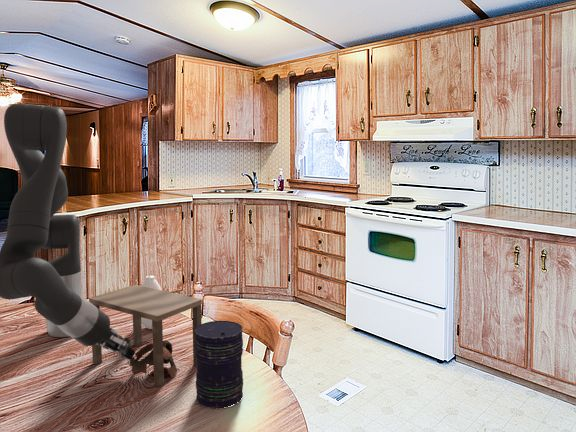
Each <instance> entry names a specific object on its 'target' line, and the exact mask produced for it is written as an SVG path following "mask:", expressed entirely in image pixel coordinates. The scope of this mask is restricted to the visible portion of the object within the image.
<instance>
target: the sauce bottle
mask: <svg viewBox="0 0 576 432" xmlns="http://www.w3.org/2000/svg"><path fill="white" fill-rule="evenodd" d="M140 286H144V287H149V288H153V289H158V290H162V291H163V289H162V287H161V285H160V283H159V282H158V281H157V279H156V277H155V276H154V275H152V274H151V268H150V267H148V275H146V276H145V278H144V280H143V282H142V284H141V285H140ZM141 326H144V327H145V328H146V329H148V330H152V320H150V319H146V318H142V317H141Z"/></svg>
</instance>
